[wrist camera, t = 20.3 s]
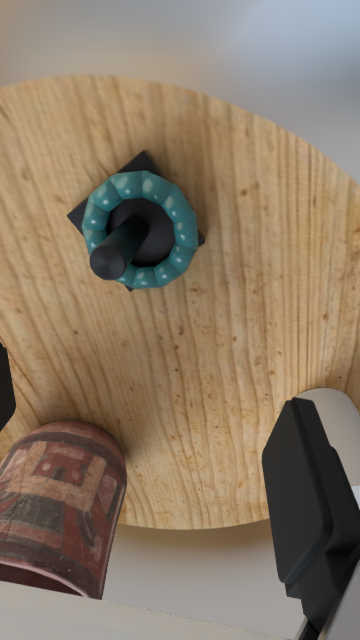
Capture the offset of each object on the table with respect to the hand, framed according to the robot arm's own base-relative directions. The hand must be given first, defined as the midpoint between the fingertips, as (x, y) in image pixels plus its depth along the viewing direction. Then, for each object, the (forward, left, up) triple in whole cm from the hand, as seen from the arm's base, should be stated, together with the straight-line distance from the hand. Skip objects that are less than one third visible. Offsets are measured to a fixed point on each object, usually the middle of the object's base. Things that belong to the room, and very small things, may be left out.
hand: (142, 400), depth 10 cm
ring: (+3, -3, -19) cm, 20 cm away
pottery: (+31, +17, -22) cm, 41 cm away
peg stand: (+3, -3, -21) cm, 22 cm away
